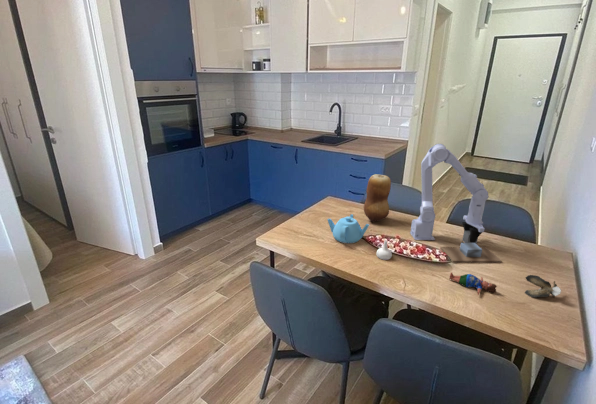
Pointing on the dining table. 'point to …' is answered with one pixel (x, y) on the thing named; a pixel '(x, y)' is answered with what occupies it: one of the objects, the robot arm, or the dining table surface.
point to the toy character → (474, 282)
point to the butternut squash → (377, 197)
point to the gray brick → (467, 237)
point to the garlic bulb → (384, 252)
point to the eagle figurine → (542, 287)
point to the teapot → (347, 230)
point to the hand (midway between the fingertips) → (469, 239)
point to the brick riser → (470, 254)
